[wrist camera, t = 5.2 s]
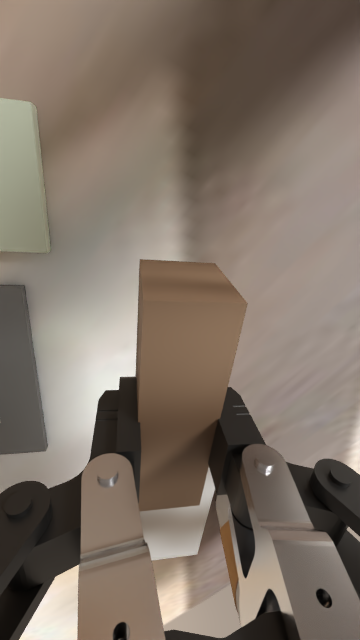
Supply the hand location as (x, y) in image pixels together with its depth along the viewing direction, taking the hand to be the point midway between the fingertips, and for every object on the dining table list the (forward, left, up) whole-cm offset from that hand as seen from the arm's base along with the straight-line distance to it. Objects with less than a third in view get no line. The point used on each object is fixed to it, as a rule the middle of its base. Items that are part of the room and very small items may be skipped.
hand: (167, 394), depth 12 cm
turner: (+4, 0, -1) cm, 4 cm away
